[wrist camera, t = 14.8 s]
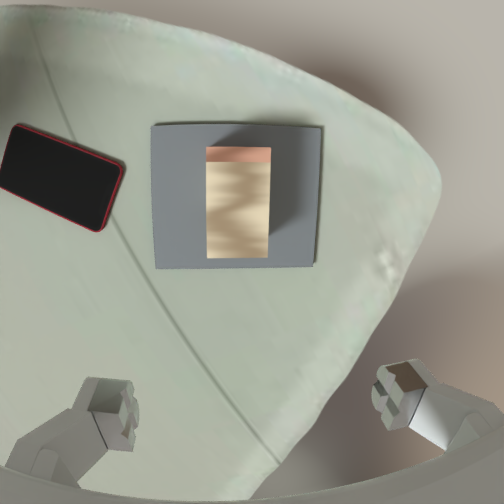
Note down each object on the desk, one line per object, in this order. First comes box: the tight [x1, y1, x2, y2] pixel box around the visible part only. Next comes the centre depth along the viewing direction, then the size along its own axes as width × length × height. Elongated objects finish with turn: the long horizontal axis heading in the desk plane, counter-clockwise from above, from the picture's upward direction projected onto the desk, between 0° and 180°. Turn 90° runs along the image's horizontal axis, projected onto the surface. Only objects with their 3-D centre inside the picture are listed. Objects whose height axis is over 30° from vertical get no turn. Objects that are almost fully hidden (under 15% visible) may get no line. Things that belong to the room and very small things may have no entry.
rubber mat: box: [151, 124, 321, 269], centre depth 31 cm, size 16×14×1 cm
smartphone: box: [0, 124, 123, 232], centre depth 28 cm, size 7×1×15 cm
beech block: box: [206, 147, 271, 258], centre depth 28 cm, size 5×5×9 cm
